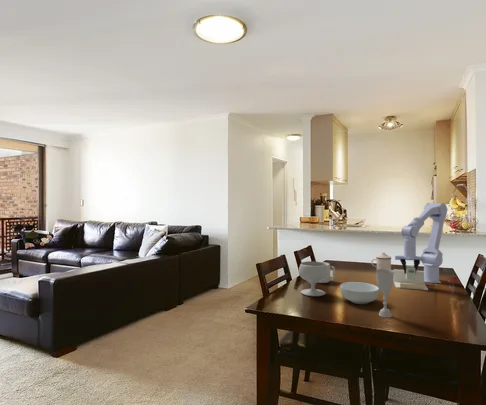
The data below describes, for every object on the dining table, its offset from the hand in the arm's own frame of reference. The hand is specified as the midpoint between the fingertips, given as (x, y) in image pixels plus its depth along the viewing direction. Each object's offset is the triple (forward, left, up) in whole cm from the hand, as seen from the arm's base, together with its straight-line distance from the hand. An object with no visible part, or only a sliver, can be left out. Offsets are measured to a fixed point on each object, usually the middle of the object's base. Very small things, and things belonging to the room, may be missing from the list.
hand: (409, 273), depth 182 cm
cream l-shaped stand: (+1, 0, -6) cm, 6 cm away
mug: (+3, -46, -7) cm, 46 cm away
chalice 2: (+53, -16, -7) cm, 55 cm away
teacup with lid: (-35, -13, -7) cm, 38 cm away
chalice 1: (+30, -48, -7) cm, 56 cm away
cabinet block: (0, 0, -2) cm, 2 cm away
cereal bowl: (+37, -26, -7) cm, 45 cm away
